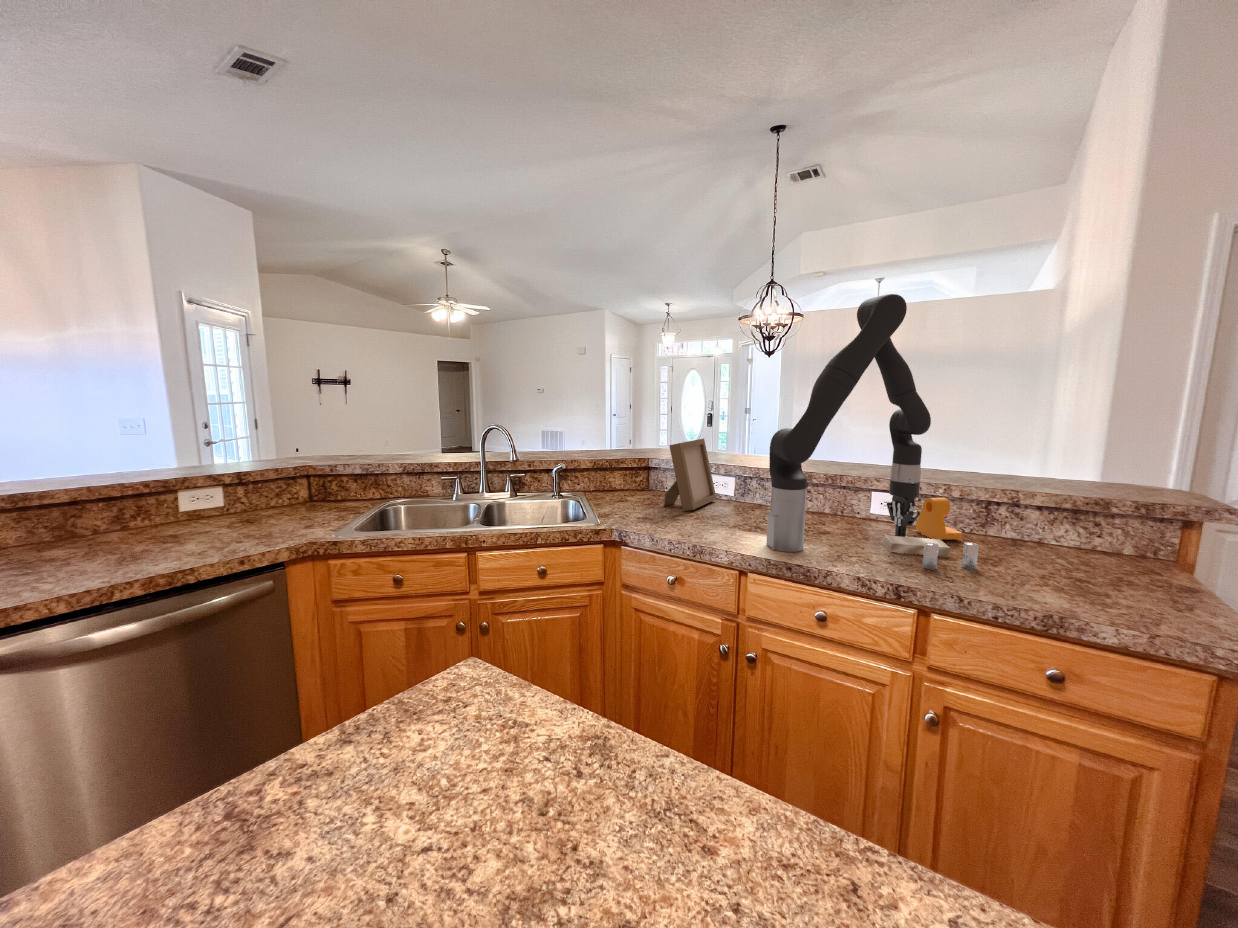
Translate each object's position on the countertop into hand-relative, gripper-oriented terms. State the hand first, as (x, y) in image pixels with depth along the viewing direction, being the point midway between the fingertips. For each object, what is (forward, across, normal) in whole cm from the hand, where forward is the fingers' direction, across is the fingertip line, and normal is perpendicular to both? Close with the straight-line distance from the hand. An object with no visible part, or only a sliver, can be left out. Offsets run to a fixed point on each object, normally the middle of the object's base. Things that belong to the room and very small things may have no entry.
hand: (900, 537), depth 146 cm
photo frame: (+2, -51, -54) cm, 74 cm away
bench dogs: (+1, +21, 0) cm, 21 cm away
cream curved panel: (+2, +7, 0) cm, 8 cm away
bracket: (+2, -6, +15) cm, 16 cm away
